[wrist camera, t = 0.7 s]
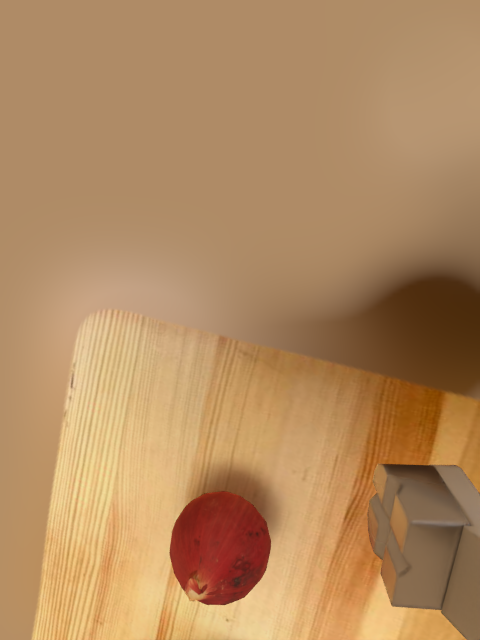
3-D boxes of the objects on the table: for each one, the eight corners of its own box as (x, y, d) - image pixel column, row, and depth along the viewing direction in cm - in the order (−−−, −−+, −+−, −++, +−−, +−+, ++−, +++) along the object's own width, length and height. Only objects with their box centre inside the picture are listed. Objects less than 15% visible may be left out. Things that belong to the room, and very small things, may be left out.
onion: (286, 483, 29) (262, 566, 21) (270, 562, 30) (241, 667, 22) (201, 459, 30) (150, 528, 22) (189, 535, 31) (135, 626, 23)
